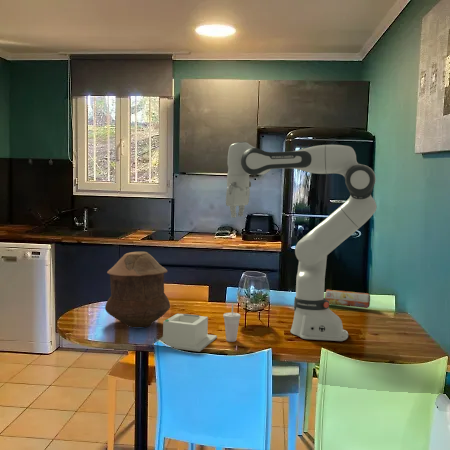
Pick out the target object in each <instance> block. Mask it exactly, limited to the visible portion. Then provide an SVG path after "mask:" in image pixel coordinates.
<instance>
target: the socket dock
mask: <svg viewBox="0 0 450 450" xmlns="http://www.w3.org/2000/svg"><path fill="white" fill-rule="evenodd" d="M162 324H163V325H162V336H161V337H160V338H159V339H157V340H161V341H163V342H165V343H166V344H168V345H170V346H171V347H174V348H173V349H177V350H185V351H191V352H192V351H193V352H201V351H203V350H204V349H205V348H206V347H207V346H208V345H210V344H211V343H212V342H213V341H215V340H216V339H217V338H218V335H215V334H208V332H209V331H208V328H209V327H208V326H209V325H208V324H209V317H208V316H202V315H199V314H198V315H197V314H191V313H190V314H189V313H176V314H174V315H172V316H171V317H169V318H166V319H164V320H163V321H162ZM151 346H154V342H152V345H151Z"/></svg>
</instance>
